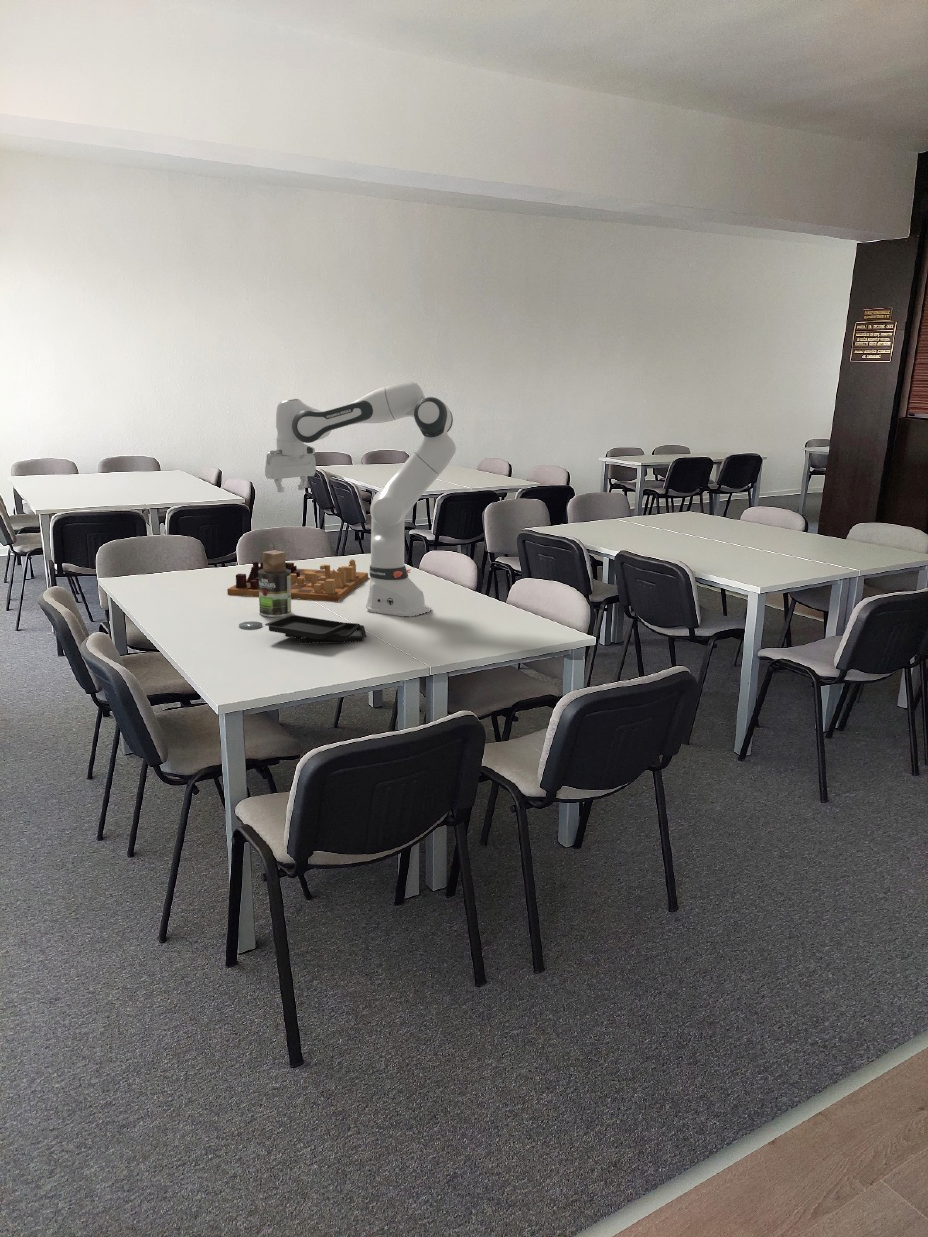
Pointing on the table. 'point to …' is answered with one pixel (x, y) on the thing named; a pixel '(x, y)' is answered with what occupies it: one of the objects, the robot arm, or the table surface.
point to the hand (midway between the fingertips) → (291, 491)
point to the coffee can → (275, 593)
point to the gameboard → (306, 582)
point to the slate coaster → (250, 625)
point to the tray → (316, 629)
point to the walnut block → (274, 561)
